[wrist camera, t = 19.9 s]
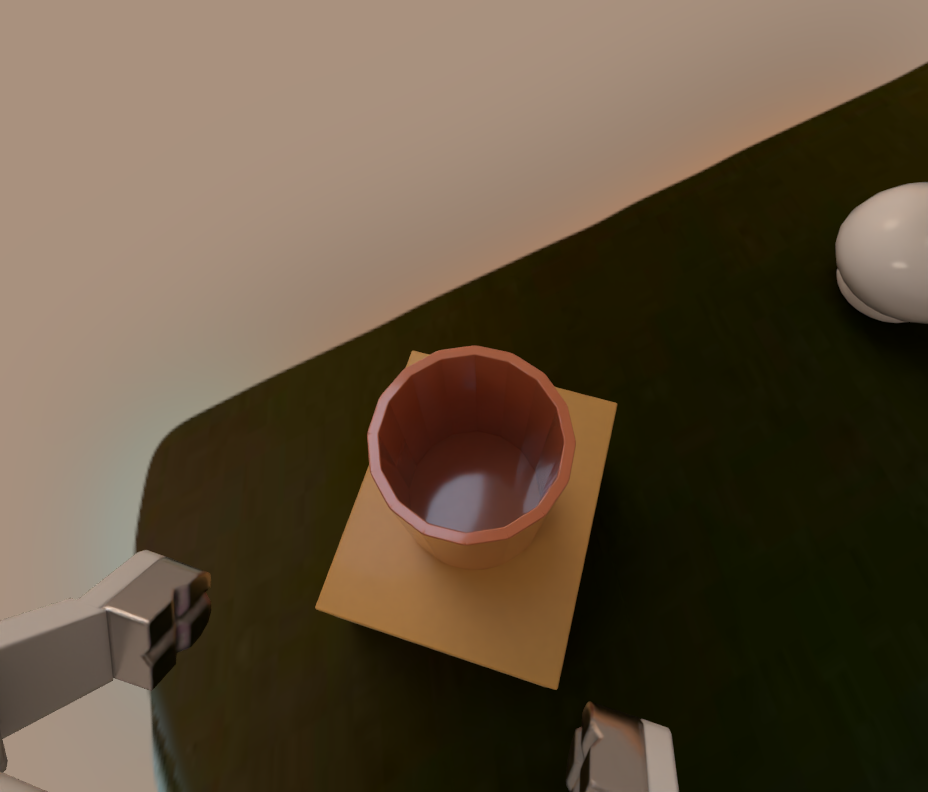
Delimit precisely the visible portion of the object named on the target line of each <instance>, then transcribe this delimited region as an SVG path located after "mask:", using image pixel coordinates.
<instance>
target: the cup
mask: <svg viewBox="0 0 928 792" xmlns="http://www.w3.org/2000/svg"><path fill="white" fill-rule="evenodd" d="M367 441H368V454H369V467H370V473H371V476H372V478H373V480H374V482H375V483H376V485H377V487H378V489H379V491H380V493H381V495H382V496H383V498H384V500H385V502H386V504H387V506H388V508H389V509H390V510H391V511H392V513H393V514H394V515H395V516H396V517H397V519H398V520H399V521H400V522H401V524H402V525H403V526H404V527H405V529H406V530H407V531H408V532H409V534H410V535H411V536H412V537H413V538H414V540H415V541H416V542H417V543H418V545H420V546H421V547H422V548H424V549H425V550H426V551H427V552H428V553H429V554H430V555H432V556H433V557H435V558H436V559H437V560H439V561H440V562H442V563H445V564H447V565H450V566H453V567H456V568H461V569H466V570H482V569H489V568H493V567H497V566H500V565H502V564H504V563H506V562H508V561H510V560H512V559H513V558H515V557H516V556H518V555H519V554H520V553H521V552H523V551H525V550H526V549H527V547H528V546H529V545H530V543H531V542H532V540H533V539H534V537H535V536H536V534H537V533H538V531H539V530H540V528H541V527H542V526H543V524H544V522H545V521H546V519H547V517H548V516H549V514H550V512H551V511H552V509H553V507H554V506H555V504H556V502H557V501H558V499H559V498H560V496H561V494H562V493H563V491H564V489H565V488H566V486H567V484H568V482H569V479H570V474H571V468H572V463H573V458H574V452H575V447H576V440H575V435H574V431H573V427H572V422H571V418H570V414H569V410H568V406H567V404H566V402H565V401H564V399H563V398H562V397H561V395H560V394H559V393H558V391H557V390H556V388H555V387H554V386H553V384H552V383H551V382H550V380H549V379H548V377H547V376H546V375H545V374H544V373H543V372H541V371H540V370H538V369H537V368H535V367H533V366H532V365H530V364H529V363H527V362H526V361H524V360H522V359H521V358H519V357H518V356H516V355H515V354H512V353H509V352H505V351H500V350H495V349H490V348H486V347H481V346H467V347H460V348H453V349H446V350H439V351H436V352H434V353H432V354H431V355H429V356H427V357H425V358H423V359H421V360H419V361H418V362H416V363H414V364H412V365H410V366H408V367H406V368H405V369H404V370H403V371H402V372H401V373H400V374H399V375H398V377H397V378H396V379H395V380H394V381H393V382H392V383H391V385H390V386H389V387H388V388H387V389H386V390H385V392H384V393H383V394H382V395H381V396H380V398H379V400H378V403H377V406H376V409H375V412H374V415H373V417H372V420H371V423H370V426H369V429H368V432H367Z"/></svg>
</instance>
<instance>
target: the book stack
mask: <svg viewBox="0 0 928 792" xmlns="http://www.w3.org/2000/svg"><path fill="white" fill-rule="evenodd" d="M427 356H429V355H428V354H424V353H420V352H416V351H412V353H411V355H410V358H409V361H408V363H407V366H406V367H408V366H410V365H412V364H414V363H416V362H418V361H419V360H421V359H423V358H425V357H427ZM555 388H556V387H555ZM556 390H557V391H558V393H559V394H560V395H561V397H562V398H563V399H564V401H565V402H566V404H567V406H568V410H569V414H570V418H571V422H572V427H573V431H574V435H575V440H576V447H575V452H574V458H573V463H572V468H571V474H570V479H569V482H568V484H567V486H566V488H565V489H564V491H563V493H562V494H561V496H560V498H559V499H558V501H557V502H556V504H555V506H554V507H553V509H552V511H551V512H550V514H549V516H548V517H547V519H546V521H545V522H544V524H543V526H542V527H541V528H540V530H539V531H538V533H537V534H536V536H535V537H534V539H533V540H532V542H531V543H530V545H529V546H528V547H527V549H526V550H525V551H523V552H521V553H520V554H519V555H518V556H516V557H515V558H513V559H512V560H510V561H508V562H506V563H504V564H502V565H500V566H497V567H493V568H489V569H482V570H466V569H461V568H456V567H453V566H450V565H447V564H445V563H442V562H440V561H439V560H437V559H436V558H435V557H433V556H432V555H430V554H429V553H428V552H427V551H426V550H425V549H424V548H422V547H421V546H420V545H418V543H417V542H416V541H415V540H414V538H413V537H412V536H411V535H410V534H409V532H408V531H407V530H406V529H405V527H404V526H403V525H402V524H401V522H400V521H399V520H398V519H397V517H396V516H395V515H394V514H393V513H392V511H391V510H390V509H389V508H388V506H387V504H386V502H385V500H384V498H383V496H382V495H381V493H380V491H379V489H378V487H377V485H376V483H375V482H374V480H373V478H372V476H371V473H370V467H368V469H367V472H366V474H365V477H364V480H363V482H362V485H361V488H360V490H359V493H358V496H357V498H356V501H355V504H354V506H353V509H352V512H351V514H350V517H349V519H348V522H347V525H346V527H345V530H344V533H343V535H342V538H341V541H340V543H339V546H338V549H337V551H336V554H335V557H334V559H333V562H332V565H331V567H330V570H329V572H328V575H327V578H326V580H325V583H324V586H323V588H322V591H321V594H320V596H319V599H318V602H317V604H316V609H317V610H319V611H322V612H325V613H328V614H331V615H334V616H336V617H339V618H342V619H345V620H348V621H350V622H353V623H356V624H359V625H362V626H365V627H368V628H371V629H374V630H377V631H380V632H383V633H386V634H389V635H392V636H395V637H398V638H401V639H404V640H407V641H410V642H413V643H416V644H419V645H422V646H425V647H428V648H431V649H434V650H436V651H439V652H442V653H445V654H448V655H451V656H454V657H457V658H460V659H463V660H466V661H469V662H472V663H475V664H478V665H481V666H484V667H487V668H490V669H493V670H496V671H499V672H502V673H505V674H508V675H511V676H514V677H517V678H519V679H522V680H525V681H528V682H531V683H534V684H537V685H540V686H543V687H548V688H551V689H554V690H557V689H558V685H559V680H560V675H561V671H562V666H563V661H564V656H565V652H566V647H567V642H568V637H569V633H570V628H571V623H572V618H573V614H574V609H575V604H576V599H577V594H578V590H579V585H580V580H581V575H582V571H583V566H584V561H585V556H586V552H587V547H588V542H589V537H590V533H591V528H592V523H593V518H594V514H595V509H596V504H597V499H598V494H599V490H600V485H601V480H602V475H603V471H604V466H605V461H606V456H607V452H608V447H609V442H610V437H611V433H612V428H613V423H614V418H615V414H616V409H617V403H614V402H610V401H606V400H602V399H599V398H595V397H591V396H587V395H583V394H579V393H575V392H571V391H568V390H564V389H560V388H556Z"/></svg>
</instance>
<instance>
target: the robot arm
mask: <svg viewBox="0 0 928 792" xmlns="http://www.w3.org/2000/svg"><path fill="white" fill-rule="evenodd" d="M210 587H211V575H210V574H209V573H207V572H205V571H203V570H200V569H197V568H195V567H192V566H189V565H187V564H184V563H181V562H179V561H176V560H173V559H171V558H168V557H165V556H162V555H159V554H156V553H154V552H151V551H148V550H144V551H141V552H138V553H136V554H135V555H133V556H132V557H131V558H130V559H128V560H127V561H126V562H125V563H123V564H122V565H121V566H120V567H118V568H117V569H116V570H114V571H113V572H112V573H111V574H109V575H108V576H107V577H106V578H104V579H103V580H102V581H100V582H99V583H98V584H97V585H95V586H94V587H93V588H92V589H90V590H89V591H88V592H86V593H85V594H84V595H83V596H81V597H80V598H79V599H78V600H76V599H72V598H69V599H66V600H63V601H60V602H56V603H53V604H50V605H47V606H44V607H41V608H38V609H35V610H32V611H28V612H25V613H22V614H19V615H16V616H13V617H10V618H6V619H4V620H0V792H47V791H45V790H42V789H40V788H38V787H35V786H33V785H31V784H28V783H26V782H23V781H21V780H19V779H16V778H14V777H12V776H9V775H7V774H5V773H3V772H4V771H5V770H6V767H7V757H6V753H5V748H4V744H3V740H2V739H3V738H5V737H7V736H9V735H11V734H13V733H15V732H16V731H19V730H20V729H22V728H24V727H26V726H28V725H30V724H32V723H33V722H36V721H37V720H39V719H41V718H43V717H45V716H47V715H49V714H51V713H52V712H54V711H56V710H58V709H60V708H62V707H64V706H66V705H68V704H70V703H71V702H73V701H75V700H77V699H79V698H81V697H83V696H85V695H87V694H88V693H90V692H92V691H94V690H96V689H98V688H100V687H102V686H104V685H105V684H107V683H109V682H111V681H113V678H115V679H118V680H121V681H124V682H127V683H130V684H133V685H136V686H139V687H142V688H144V689H147V690H150V691H152V690H153V689H154V688H155V687H156V686H157V684H158V683H159V682H160V681H161V680H162V679H163V678H164V677H165V675H166V674H167V673H168V672H169V671H170V670H171V669H172V668H173V667H174V665H175V664H176V656H177V653H178V652H180V651H182V650H185V649H187V648H189V647H191V646H192V645H193V644H194V643H195V642H196V640H197V639H198V638H199V637H200V636H201V634H202V632H203V630H204V629H205V627H206V625H207V623H208V621H209V617H210V613H211V601H210V599H209V598H208V596H207V594H206V593H205V592H206V591H207V590H208V589H209V588H210ZM566 785H567V787H568V789H569V791H570V792H679V788H678V780H677V773H676V765H675V758H674V750H673V742H672V735H671V732H670V730H669V728H667V727H664V726H661V725H658V724H655V723H652V722H649V721H646V720H643V719H640V718H639V717H635V716H632V715H629V714H626V713H623V712H620V711H617V710H614V709H611V708H608V707H605V706H602V705H599V704H596V703H593V702H590V701H589V702H588V703H587V705H586V706H585V709H584V711H583V714H582V727H580V728H578V729H576V731H575V734H574V737H573V739H572V742H571V747H570V751H569V755H568V762H567V770H566Z"/></svg>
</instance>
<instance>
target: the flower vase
mask: <svg viewBox="0 0 928 792" xmlns="http://www.w3.org/2000/svg"><path fill="white" fill-rule="evenodd" d="M835 253H836V262H837V267H838V269H837V273H836V275H837V284H838V286H839V288H840V291H841V293H842V294H843V296H844V297H845V298H846V300H847V301H848V302H849V303H850V304H851V305H852V306H853V307H855V308H856V309H857V310H858V311H860V312H861V313H863V314H865V315H867V316H869V317H870V318H873V319H876V320H879V321H882V322H890V323H903V322H914V323H922V324H928V182H919V183H909V184H904V185H900V186H897V187H894V188H891V189H888V190H885V191H882V192H879V193H877V194H875V195H874V196H872V197H871V198H869V199H868V200H866V201H865V202H863V203H862V204H861V205H859V206H858V207H856V208H855V209H854V210H852V211H851V212H850V214H849V215H848V216H847V218H846V219H845V221H844V222H843V224H842V225H841V226H840V229H839V232H838V236H837V239H836V243H835Z"/></svg>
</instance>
